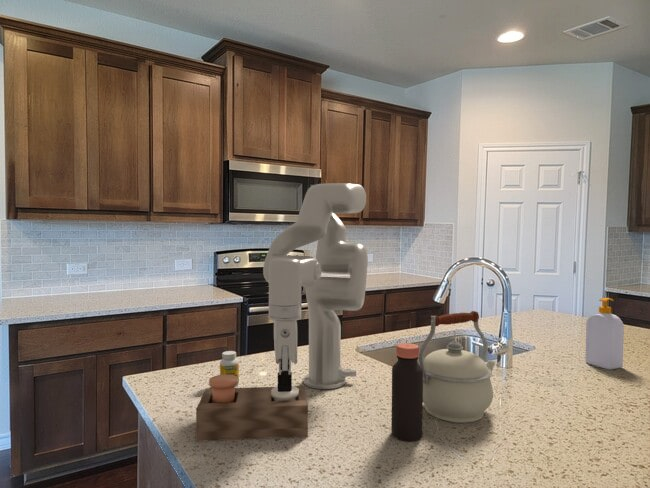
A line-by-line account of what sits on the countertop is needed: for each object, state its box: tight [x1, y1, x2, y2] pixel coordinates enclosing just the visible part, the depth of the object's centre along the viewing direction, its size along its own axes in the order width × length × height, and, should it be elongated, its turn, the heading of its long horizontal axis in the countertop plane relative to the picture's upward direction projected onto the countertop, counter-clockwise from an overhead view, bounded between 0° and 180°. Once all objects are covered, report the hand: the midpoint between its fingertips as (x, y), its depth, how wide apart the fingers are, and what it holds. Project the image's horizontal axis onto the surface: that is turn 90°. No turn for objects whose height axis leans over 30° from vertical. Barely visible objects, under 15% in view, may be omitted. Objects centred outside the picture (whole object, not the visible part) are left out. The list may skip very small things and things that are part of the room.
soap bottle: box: [584, 297, 625, 371], centre depth 149 cm, size 9×7×23 cm
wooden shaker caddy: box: [195, 385, 309, 442], centre depth 101 cm, size 24×12×7 cm, turn 96°
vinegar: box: [390, 342, 424, 442], centre depth 97 cm, size 7×7×20 cm
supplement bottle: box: [219, 350, 240, 388], centre depth 128 cm, size 5×5×10 cm
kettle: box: [418, 310, 496, 424], centre depth 110 cm, size 25×18×25 cm
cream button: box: [271, 385, 299, 401], centre depth 101 cm, size 6×6×6 cm
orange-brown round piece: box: [208, 374, 239, 403], centre depth 100 cm, size 6×6×6 cm
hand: (284, 390), depth 101 cm, fingers closed
